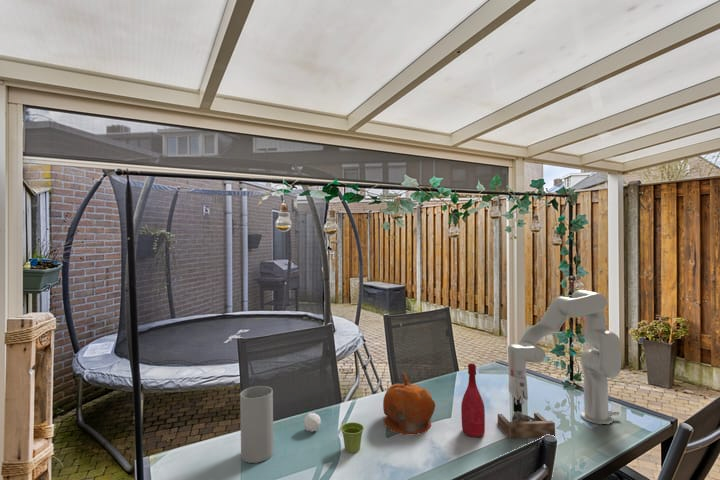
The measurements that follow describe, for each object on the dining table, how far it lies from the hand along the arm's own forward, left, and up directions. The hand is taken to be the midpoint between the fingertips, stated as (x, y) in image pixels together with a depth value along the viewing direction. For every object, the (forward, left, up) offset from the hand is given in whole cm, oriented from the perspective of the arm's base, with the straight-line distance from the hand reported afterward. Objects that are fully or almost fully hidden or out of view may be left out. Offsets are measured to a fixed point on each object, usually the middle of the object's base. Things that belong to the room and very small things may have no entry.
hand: (517, 412), depth 169 cm
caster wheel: (-1, +4, -5) cm, 6 cm away
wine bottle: (+23, +8, -5) cm, 25 cm away
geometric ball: (+94, +2, -5) cm, 94 cm away
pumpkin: (+50, -3, -5) cm, 51 cm away
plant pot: (+76, +18, -5) cm, 78 cm away
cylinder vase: (+114, +20, -5) cm, 116 cm away
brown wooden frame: (0, +7, -5) cm, 8 cm away
